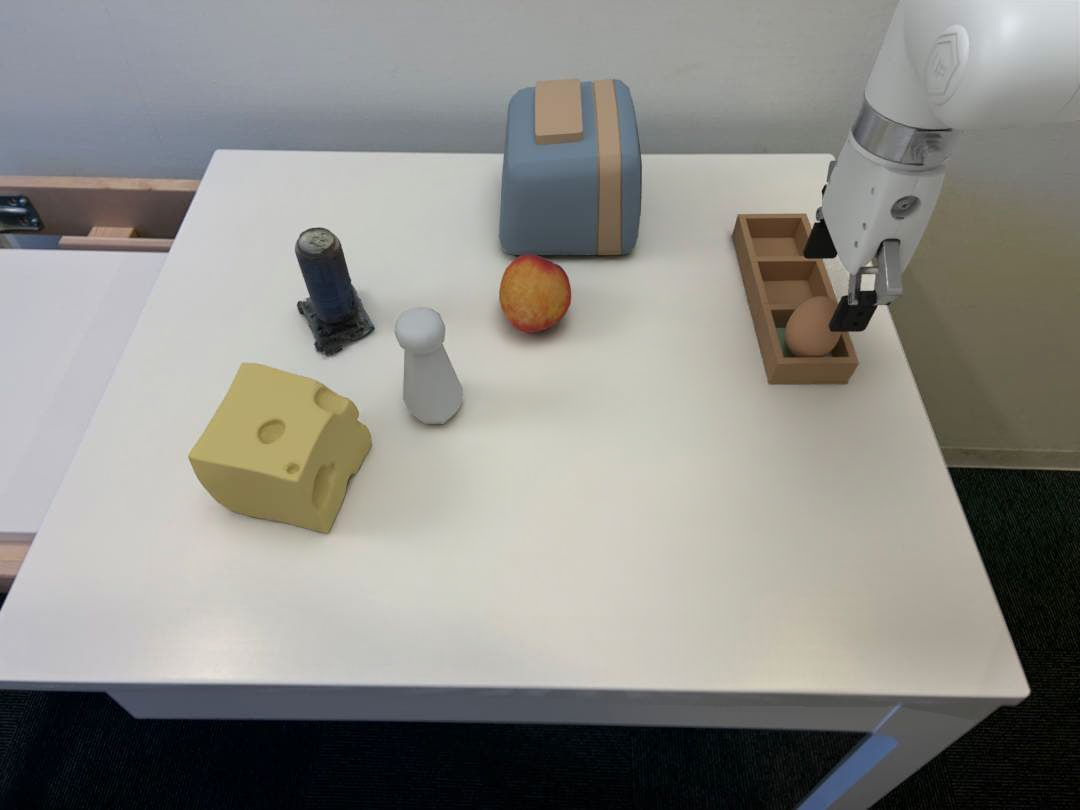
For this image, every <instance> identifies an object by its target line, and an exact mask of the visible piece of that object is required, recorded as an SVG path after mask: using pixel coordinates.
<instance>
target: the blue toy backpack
mask: <svg viewBox="0 0 1080 810" xmlns="http://www.w3.org/2000/svg"><path fill="white" fill-rule="evenodd" d="M637 122H638V121H637V116H636V109H635V106H634V100H633V97H632V93H631V90H630V87H629V86H628V85H627V84H626V83H624V82H623V81H622V80H621V79H615V78H613V79H612V78H608V79H597V80H593V81H592V80H587V81H581V79H580V78H578V77H577V78H576V77H575V78H565V79H552V80H551V79H550V80H540V81H536V82H535V86H529V87H528V86H527V87H524V88H520V89H518V90H517V91H516V92H515V93H514V94H513V95H512V97H511V98H510V100H509V103H508V106H507V116H506V127H505V138H504V149H503V160H502V171H501V172H502V173H501V188H500V189H501V191H500V209H499V224H498V225H499V228H498V238H499V243H500V246H501V249H502V250H503V251H505V252H506V253H507V254H510V255H513V256H521V255H525V254H532V255H536V256H620V255H622V256H623V255H626V254H629V253H630V252H631V251H632V250H634V249H635V248H636V245H637V242H638V238H639V228H640V222H641V216H642V215H641V213H642V193H643V192H642V189H643V163H642V162H643V161H642V153H641V145H640V137H639V129H638V123H637Z"/></svg>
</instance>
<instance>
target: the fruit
mask: <svg viewBox="0 0 1080 810" xmlns="http://www.w3.org/2000/svg"><path fill="white" fill-rule="evenodd" d="M499 285H500V286H499V290H498V291H499V292H498V295H499V298H498V299H499V300H498V301H499V303H500V307H501V310H502V312H503V314H504V316H505V318H506V319H507V321H508V322H509V323H510V324H511V325H512V326H513V327H514V328H515V329H517V330H519V331H520V332H524V333H537V332H540V331H543V330H546V329H549V328H551V327H553V326H554V325H556V324H557V323H559V322H560V321H561V320H562V319H563V318H564V317H565V315H566V314H567V313H568V310H569V308H570V306H571V303H572V287H571V283H570V279H569V276H568V275H567V272H566V271H565V270H564V268H563V267H562V266H560V264H557V263H556V262H553V261H552V260H550V259H547V258H545V257H542V256H540V255H532V254H525V255H518V256H517V257H516V258H514V259H513V260H512V261H511V262H510V264H508V265H507V266H506V268H505V269H504V272H503V274H502V277H501V281H500V284H499Z"/></svg>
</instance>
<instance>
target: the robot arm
mask: <svg viewBox="0 0 1080 810" xmlns="http://www.w3.org/2000/svg"><path fill="white" fill-rule="evenodd" d="M873 65H874V66H873V68H872V71H871V73H870V76H869V78H868V81H867V84H866V87H865V89H864V91H863V93H862V96H861V98H860V102H859V103H858V106H857V109H856V112H855V114H854V117H853V119H852V122H851V125H850V128H849V129H848V137H847V138H846V141H845V142H844V145H843V147H842V149H841V151H840V153H839V156H838V158H837V159H836V160H835V159H834V160H830V161H829V163H828V170H827V176H826V183H827V184H824V185H823V187H822V189H821V197H822V198H821V206H819V207H818V208H817V209H816V211H815V222H813V225H812V227H811V228H812V230H811V233H810V236H809V238H808V241H807V243H806V246H805V249H804V251H803V254H804V257H805V258H807V259H823V260H824V259H825V260H826V259H829V260H830V259H831V260H832V259H835V258H836V257H837V256H838V258H839V261H840V262H841V265H842V266H843V268H844V269H845V270H846V271H847V272H848V273H849V274H848V275H849V277H848V287H847V294H845V295H842V296H841V298H840V300H839V301H838V306H837V308H836V310H835V312H834V314H833V317H832V319H831V321H830V323H829V325H828V326H829V329H830V331H831V332H848V333H850V332H851V333H855V332H856V333H857V332H858V333H859V332H864V331H865V330H866V329H867V327H868V326H869V323H870V321H871V319H873V316H874V314H875V312H876V311H877V309H878V307H879V306H890V305H891V303H892V302H894V301H896V300H897V299H899V298H900V297H901V296H902V295H903V292H904V286H903V285H904V284H903V283H904V282H903V273H904V272H905V271H906V269H907V268H908V266H909V264H910V262H911V260H912V258H913V256H914V254H915V253H916V250H917V249H918V246H919V244H920V242H921V240H922V238H923V235H924V233H925V231H926V230H927V228H928V224H929V223H930V220H931V218H932V215H933V213H934V210H935V208H936V206H937V203H938V201H939V197H940V194H941V192H942V191H941V190H942V188H943V185H944V180H945V177H946V173H947V168H946V163H947V162H948V161H949V160H950V158H951V156H952V154H953V153H954V151H955V149H956V147H957V145H958V143H959V142H960V140H961V137H962V135H963V134H964V132H985V131H986V132H987V131H997V130H1005V129H1006V130H1007V129H1016V128H1017V129H1018V128H1027V127H1034V126H1040V125H1042V126H1043V125H1052V124H1063V123H1071V122H1080V0H898V2H897V4H896V7H895V10H894V12H893V15H892V18H891V21H890V23H889V26H888V28H887V31H886V33H885V36H884V38H883V42H882V44H881V47H880V49H879V52H878V55H877V58H876V60H875V62H874V64H873ZM874 259H876V261H877V262H876V263H877V266H874V265H873V266H872V265H871V266H868V264H869V263H870V262H871V261H872V260H874ZM863 275H874V286H873V289H872V290H862V289H861V287H862V276H863Z"/></svg>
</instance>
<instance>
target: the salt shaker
mask: <svg viewBox="0 0 1080 810" xmlns="http://www.w3.org/2000/svg"><path fill="white" fill-rule="evenodd" d="M394 335H395V339H396V340H397V342H398V344H399V347H400V348H401V349H402V350H403V355H404V356H403V381H402V383H403V384H402V385H403V386H402V387H403V388H402V400H403V402H404V404H405V406H406V408H407V410H408V412H409V413H410V414H412V415H413V416H415V417H416V418H417V419H418V420H420V421H421V422H423V423H424V424H425V425H429V424H431V425H434V424H435V425H444V424H445V423H447V421H449V420H450V419H451V418H452V417H453V416H454V415H455V414H457V412H458V410H459V408H460V406H461V404H462V403H463V395H464V394H463V393H464V388H463V385H462V384H461V381H460V380H459V378H458V375H457V373H456V370H455V368H454V366H453V363H452V362H451V360H450V357H449V355H448V353H447V350H446V348H445V346H444V344H443V343H444V342H445V339H446V338H445V337H446V325H445V322H444V320H443V318H442V316H441V314H440V313H439V312H437V311H436V310H434V309H432V308H430V307H425V306H418V307H412V308H410V309H407V310H405V311H404V312H402V313H401V314H400V316H398V317H397V318H396V321H395V325H394Z"/></svg>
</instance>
